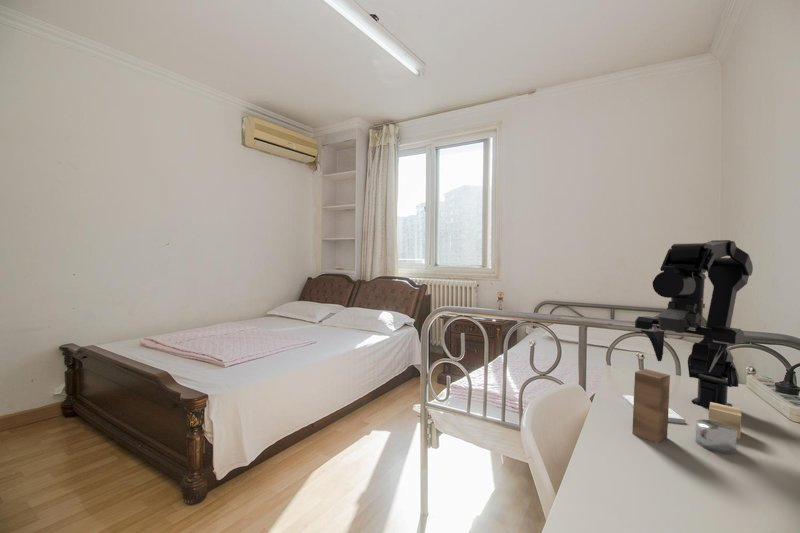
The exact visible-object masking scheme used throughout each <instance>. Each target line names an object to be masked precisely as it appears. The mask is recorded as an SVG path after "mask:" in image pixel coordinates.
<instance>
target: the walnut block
mask: <svg viewBox="0 0 800 533" xmlns="http://www.w3.org/2000/svg"><path fill="white" fill-rule="evenodd" d="M670 383H671V374H667V373H664V372H660V371H655V370H652V369H648V368H643V369H640V370H637V371H635V372H634V385H633V388H634V390H633V396H634V407H633V408H632V409H633V410H632V411H633V412H632V414H633V415H632V429H631V430H632V434H633V435H634V436H638V437H640V438H643V439H646V440H648V441H650V442H653V443H656V444H658V443H661V442H662V441H664V440H665V439H667V438H668V429H669V428H668V427H669V425H668V424H669V422H668V409H669V408H670V407H669V406H670V405H669V404H670V387H671V384H670Z"/></svg>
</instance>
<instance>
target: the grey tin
mask: <svg viewBox="0 0 800 533" xmlns="http://www.w3.org/2000/svg"><path fill="white" fill-rule="evenodd" d="M694 438H695V443H696V444H697V445H698V446H700V447H701V448H703V449H705V450H708V451H710V452H713V453H716V454H721V455H728V456H731V455H735V454H736V453H737V441H738V439H737V431H736V430H735V429H734V428H732V427H730V426H728V425H725V424H723V423H719V422H715V421H711V420H709V419H697V420H696V421H695V437H694Z"/></svg>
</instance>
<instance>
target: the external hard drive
mask: <svg viewBox="0 0 800 533" xmlns="http://www.w3.org/2000/svg"><path fill="white" fill-rule="evenodd" d="M623 399H624V400H623ZM622 400H623V401H625V402H626V403H627V404H628V406H630V407H631V408H632V409H633V407H634V395H627V394H623V395H622ZM686 421H687V420H686V419H685V418H683V417H682V416H681V415H679V413H677V412H675V411H674V410H673V409H672V408H670V407H669V409H668V423H677V424H686Z"/></svg>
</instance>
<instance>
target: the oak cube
mask: <svg viewBox="0 0 800 533" xmlns="http://www.w3.org/2000/svg"><path fill="white" fill-rule="evenodd" d="M708 420H711V421H715V422H719V423H723V424H725V425H728V426H730V427H732V428H734V429H735V430H736V431H737V440H741V431H742V408H739V407H735V406H732V407H730V406H726V405H722V404H717V403H713V402H710V406H709V407H708Z"/></svg>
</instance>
